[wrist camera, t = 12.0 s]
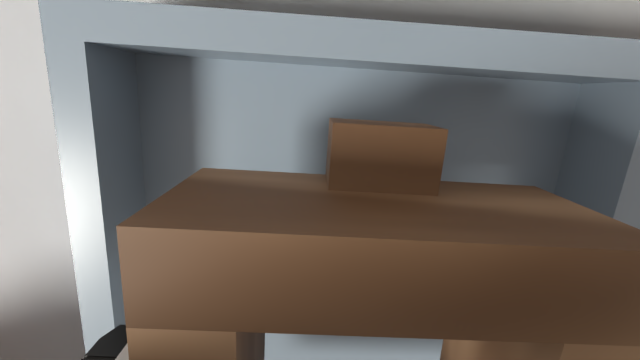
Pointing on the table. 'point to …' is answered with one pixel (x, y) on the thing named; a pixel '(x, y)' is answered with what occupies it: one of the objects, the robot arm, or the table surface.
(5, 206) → the table surface
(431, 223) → the walnut ring
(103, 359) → the robot arm
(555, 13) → the table surface
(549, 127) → the slate tray
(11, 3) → the table surface
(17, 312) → the table surface
